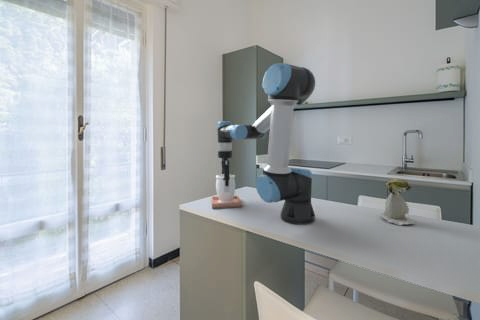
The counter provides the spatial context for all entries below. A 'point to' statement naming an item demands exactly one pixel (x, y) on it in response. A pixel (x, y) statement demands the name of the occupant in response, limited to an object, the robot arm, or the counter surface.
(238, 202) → the tray
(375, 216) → the counter surface
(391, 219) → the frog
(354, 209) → the counter surface
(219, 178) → the jar
